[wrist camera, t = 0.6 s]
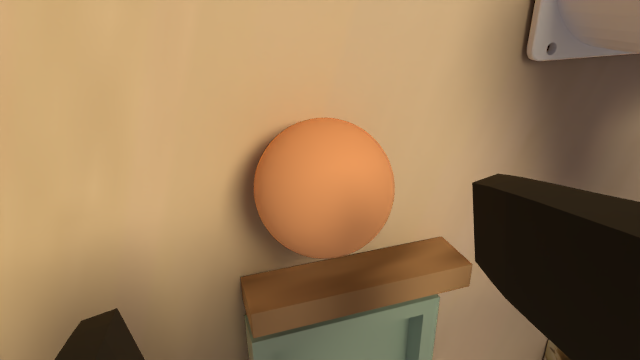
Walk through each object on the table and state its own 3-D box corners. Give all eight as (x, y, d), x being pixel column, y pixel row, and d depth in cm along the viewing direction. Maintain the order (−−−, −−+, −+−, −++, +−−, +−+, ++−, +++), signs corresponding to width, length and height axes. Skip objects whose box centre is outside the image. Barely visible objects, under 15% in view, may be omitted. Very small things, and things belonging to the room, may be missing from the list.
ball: (362, 97, 18) (427, 134, 14) (359, 208, 20) (415, 270, 16) (237, 109, 17) (266, 155, 12) (247, 226, 19) (275, 302, 14)
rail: (441, 236, 22) (472, 264, 20) (439, 256, 23) (469, 286, 21) (240, 277, 19) (251, 314, 17) (242, 299, 20) (253, 338, 18)
